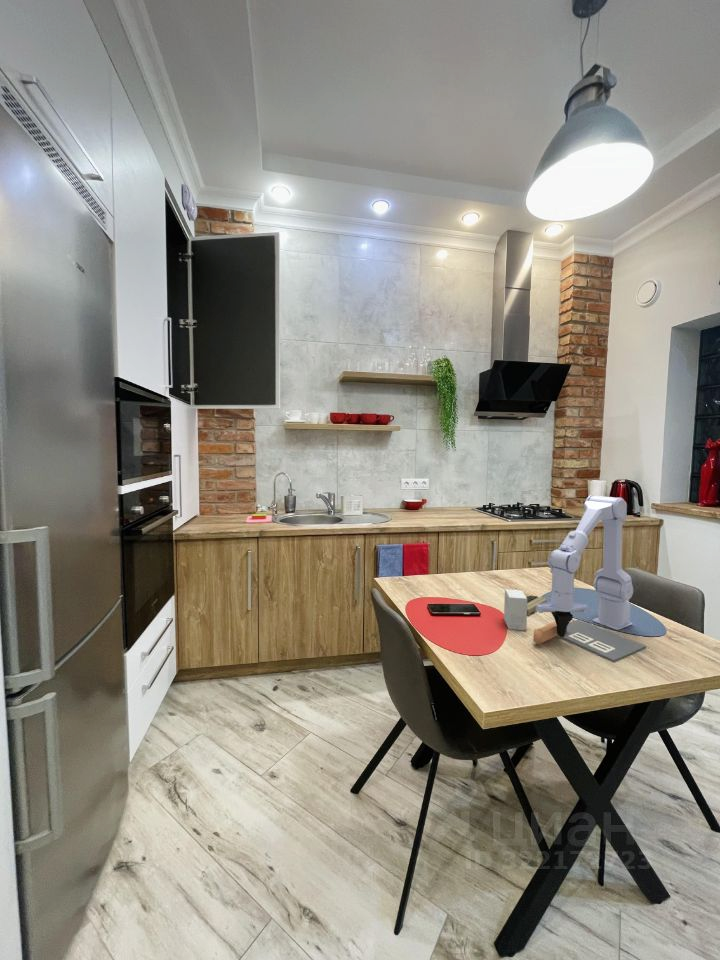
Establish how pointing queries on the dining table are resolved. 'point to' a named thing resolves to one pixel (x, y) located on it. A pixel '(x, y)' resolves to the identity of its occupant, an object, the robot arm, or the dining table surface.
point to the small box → (515, 609)
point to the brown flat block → (533, 603)
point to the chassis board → (600, 641)
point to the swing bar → (545, 633)
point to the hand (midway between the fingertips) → (560, 635)
